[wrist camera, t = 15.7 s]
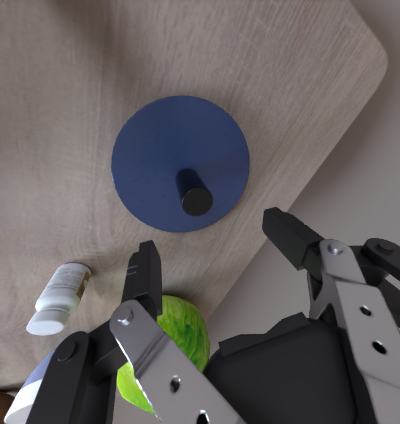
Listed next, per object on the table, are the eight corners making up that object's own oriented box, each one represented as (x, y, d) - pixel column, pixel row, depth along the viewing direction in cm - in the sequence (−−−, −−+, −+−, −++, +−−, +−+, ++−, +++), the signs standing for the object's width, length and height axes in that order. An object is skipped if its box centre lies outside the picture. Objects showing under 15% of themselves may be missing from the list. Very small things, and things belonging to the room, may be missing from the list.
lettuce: (122, 271, 26) (35, 412, 18) (234, 322, 24) (194, 501, 16) (143, 279, 41) (101, 359, 33) (213, 311, 39) (187, 403, 31)
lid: (80, 112, 14) (29, 111, 8) (247, 84, 16) (298, 69, 10) (143, 239, 24) (139, 280, 18) (244, 212, 26) (269, 242, 20)
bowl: (54, 364, 38) (28, 430, 30) (26, 336, 30) (-21, 417, 22) (125, 348, 42) (118, 402, 34) (118, 320, 34) (106, 382, 26)
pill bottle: (85, 282, 26) (62, 338, 19) (53, 276, 24) (15, 337, 17) (96, 266, 24) (75, 320, 18) (63, 258, 22) (26, 316, 16)
